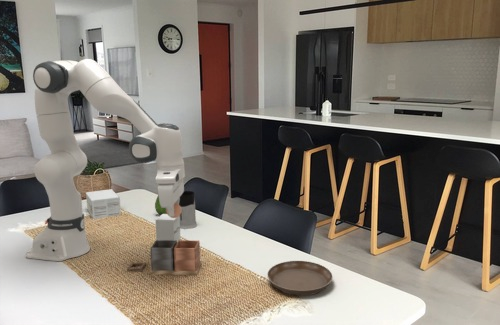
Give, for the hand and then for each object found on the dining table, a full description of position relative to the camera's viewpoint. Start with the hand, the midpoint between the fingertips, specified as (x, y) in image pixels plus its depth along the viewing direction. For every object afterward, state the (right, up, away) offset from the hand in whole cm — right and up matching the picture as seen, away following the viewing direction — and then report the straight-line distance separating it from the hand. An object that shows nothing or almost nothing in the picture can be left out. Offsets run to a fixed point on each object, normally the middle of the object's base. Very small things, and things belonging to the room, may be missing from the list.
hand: (174, 212), depth 149 cm
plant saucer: (+42, -22, -6) cm, 48 cm away
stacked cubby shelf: (0, -20, +4) cm, 20 cm away
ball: (0, +1, 0) cm, 1 cm away
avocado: (-16, -8, +64) cm, 67 cm away
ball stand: (-14, -20, +5) cm, 25 cm away
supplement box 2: (-6, -16, +23) cm, 29 cm away
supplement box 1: (-47, -8, +69) cm, 83 cm away
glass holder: (-5, -12, +47) cm, 49 cm away
